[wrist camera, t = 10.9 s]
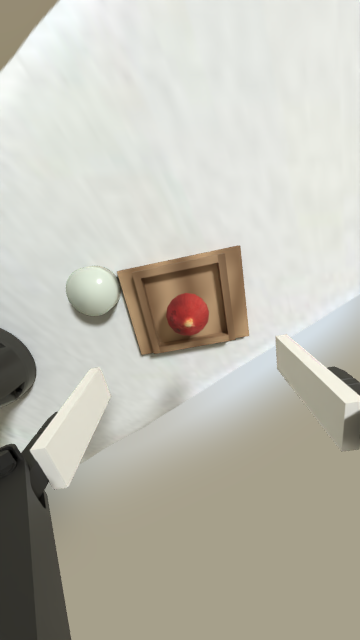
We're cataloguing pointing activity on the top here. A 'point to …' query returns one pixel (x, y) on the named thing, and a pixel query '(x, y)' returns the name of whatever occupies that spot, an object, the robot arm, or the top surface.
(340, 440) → the robot arm
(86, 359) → the top surface
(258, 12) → the top surface
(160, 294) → the tray
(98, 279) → the pale green dome
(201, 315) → the onion
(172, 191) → the top surface
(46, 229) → the top surface
